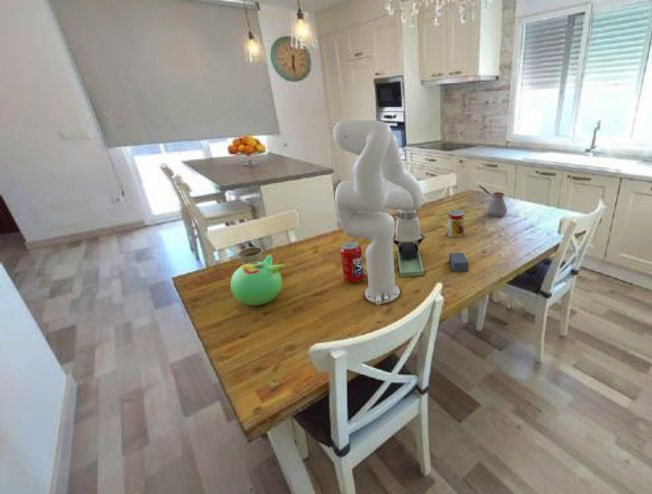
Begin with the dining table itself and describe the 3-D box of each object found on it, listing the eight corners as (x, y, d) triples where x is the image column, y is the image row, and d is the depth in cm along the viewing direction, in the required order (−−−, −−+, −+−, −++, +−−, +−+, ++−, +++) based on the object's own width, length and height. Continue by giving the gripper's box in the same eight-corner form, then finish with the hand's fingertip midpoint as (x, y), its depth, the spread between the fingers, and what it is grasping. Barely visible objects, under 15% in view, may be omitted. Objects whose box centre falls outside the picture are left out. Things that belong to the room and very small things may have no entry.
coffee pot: (510, 215, 189) (513, 190, 183) (498, 219, 183) (500, 194, 176) (483, 206, 204) (484, 183, 198) (470, 210, 198) (472, 186, 192)
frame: (424, 275, 128) (424, 270, 128) (400, 277, 127) (400, 272, 127) (417, 250, 149) (417, 246, 148) (397, 251, 148) (397, 247, 147)
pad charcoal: (416, 258, 138) (416, 250, 136) (402, 259, 137) (402, 251, 136) (414, 249, 146) (413, 241, 145) (401, 250, 146) (400, 242, 144)
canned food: (466, 236, 162) (467, 214, 157) (452, 238, 160) (452, 216, 155) (458, 230, 169) (459, 209, 164) (445, 233, 166) (445, 211, 161)
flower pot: (267, 262, 140) (263, 245, 136) (266, 273, 132) (262, 254, 128) (243, 267, 137) (239, 249, 133) (241, 277, 129) (236, 258, 125)
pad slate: (467, 270, 131) (468, 262, 129) (453, 272, 130) (453, 263, 129) (462, 260, 139) (463, 252, 137) (449, 261, 138) (449, 253, 137)
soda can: (342, 275, 129) (338, 242, 123) (362, 272, 131) (358, 239, 125) (345, 285, 122) (341, 250, 116) (366, 281, 125) (362, 247, 118)
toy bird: (229, 298, 116) (218, 262, 110) (276, 280, 127) (268, 247, 121) (246, 321, 104) (235, 282, 98) (296, 299, 115) (288, 263, 109)
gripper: (386, 219, 130) (389, 258, 137) (428, 216, 132) (428, 255, 139) (386, 212, 137) (388, 250, 144) (426, 210, 139) (426, 248, 146)
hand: (408, 252), depth 141 cm, fingers closed on pad charcoal, 5 cm apart
